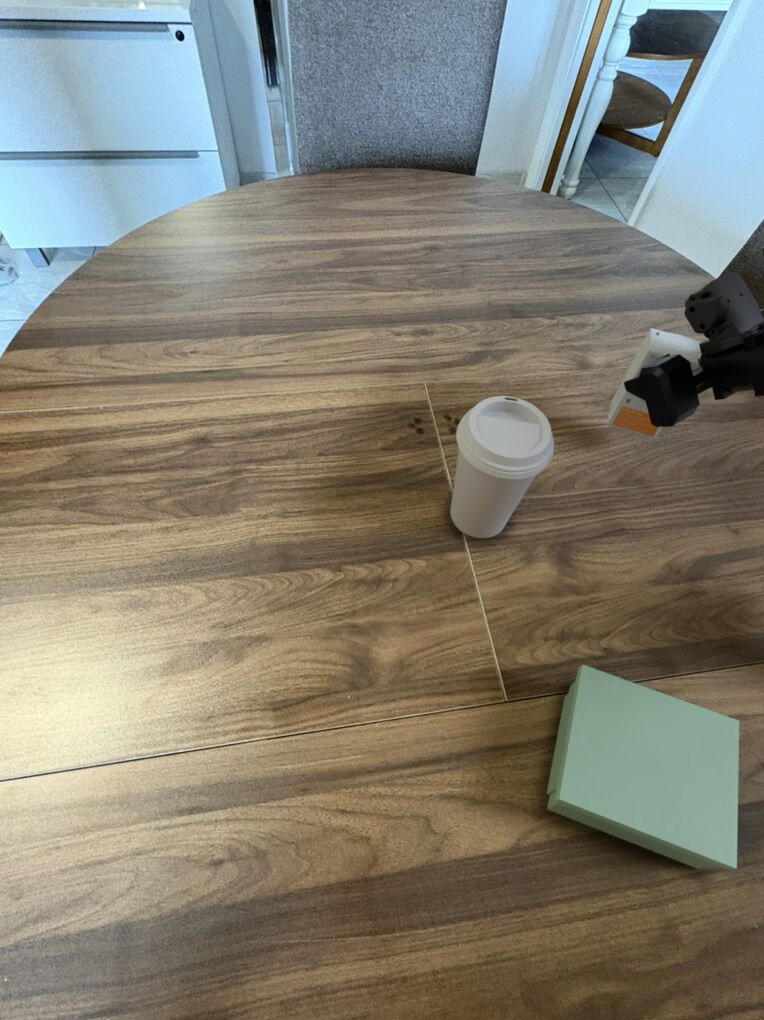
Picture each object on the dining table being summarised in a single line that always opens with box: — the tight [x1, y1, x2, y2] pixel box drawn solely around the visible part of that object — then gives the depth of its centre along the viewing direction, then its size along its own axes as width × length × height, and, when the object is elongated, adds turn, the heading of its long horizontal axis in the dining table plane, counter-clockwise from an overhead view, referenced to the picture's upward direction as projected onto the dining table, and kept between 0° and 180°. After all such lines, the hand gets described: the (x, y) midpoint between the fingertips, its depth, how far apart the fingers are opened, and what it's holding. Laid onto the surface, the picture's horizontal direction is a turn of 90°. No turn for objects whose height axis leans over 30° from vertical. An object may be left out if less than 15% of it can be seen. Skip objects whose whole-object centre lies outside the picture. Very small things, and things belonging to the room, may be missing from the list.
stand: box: [546, 664, 740, 871], centre depth 53 cm, size 14×12×5 cm
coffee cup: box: [449, 395, 555, 539], centre depth 64 cm, size 10×10×15 cm
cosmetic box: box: [606, 327, 703, 440], centre depth 70 cm, size 6×4×12 cm
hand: (645, 375), depth 70 cm, fingers closed on cosmetic box, 6 cm apart
